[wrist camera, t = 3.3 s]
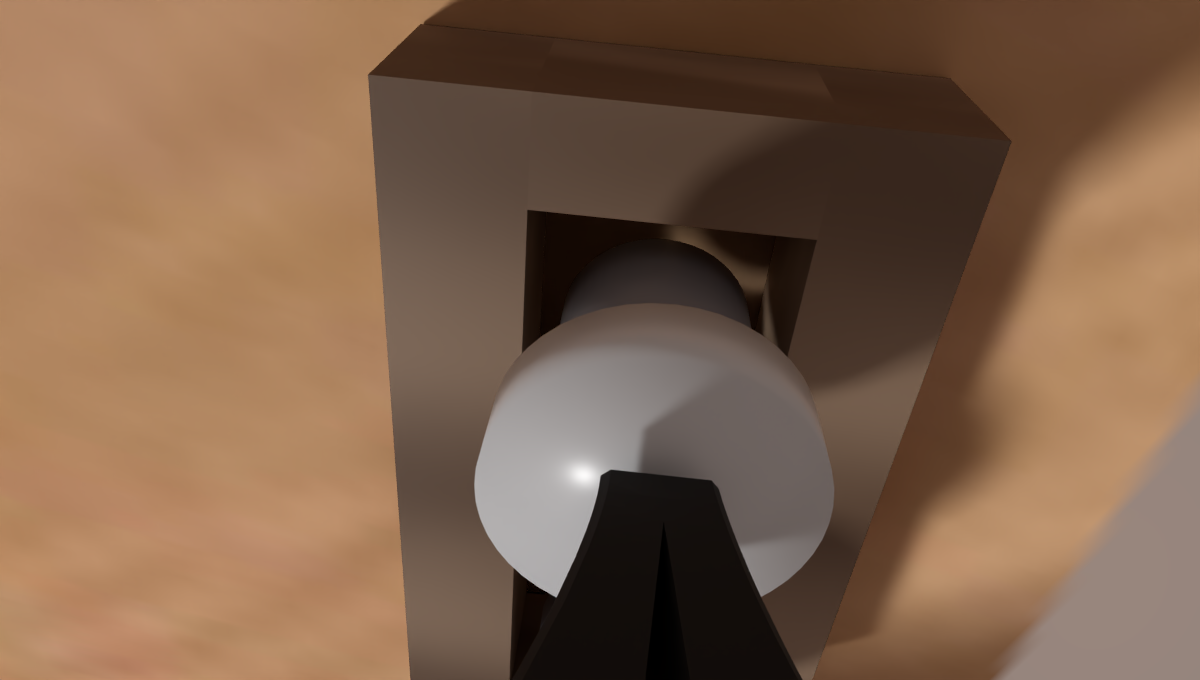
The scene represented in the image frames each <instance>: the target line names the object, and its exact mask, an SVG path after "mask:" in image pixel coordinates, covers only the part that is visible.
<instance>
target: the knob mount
mask: <svg viewBox="0 0 1200 680" xmlns="http://www.w3.org/2000/svg"><path fill="white" fill-rule="evenodd" d="M368 78H369V93H370V107H371V121H372V136H373V150H374V164H375V178H376V193H377V207H378V221H379V235H380V250H381V264H382V278H383V293H384V307H385V321H386V335H387V350H388V364H389V378H390V393H391V407H392V421H393V435H394V450H395V464H396V478H397V492H398V507H399V521H400V535H401V550H402V564H403V578H404V592H405V607H406V621H407V635H408V649H409V664H410V678H411V680H512V679H513V677H514V675H515V673H516V672H517V670H518V668H519V666H520V665H521V663H522V661H523V659H524V657H525V656H526V654H527V652H528V650H529V648H530V647H531V645H532V643H533V641H534V639H535V638H536V636H537V634H538V632H539V630H540V624H541V618H542V611H543V606H544V604H545V601H546V599H547V598H548V596H549V595H543V594H533V593H527V579H526V578H525V577H523V576H522V575H521V574H520V573H519V572H518V571H517V570H515V569H514V568H513V567H512V566H511V565H510V564H509V563H508V562H507V561H506V560H505V558H504V557H503V556H502V555H501V554H500V553H499V551H498V550H497V549H496V547H495V546H494V544H493V543H492V541H491V540H490V538H489V537H488V535H487V533H486V531H485V529H484V526H483V524H482V522H481V520H480V516H479V513H478V509H477V505H476V500H475V489H474V482H475V470H476V465H477V461H478V458H479V454H480V451H481V447H482V443H483V440H484V436H485V433H486V429H487V426H488V422H489V418H490V415H491V411H492V408H493V404H494V400H495V397H496V393H497V391H498V389H499V387H500V385H501V382H502V380H503V378H504V376H505V375H506V373H507V372H508V370H509V369H510V368H511V366H512V365H513V363H514V362H515V361H516V360H517V358H518V357H519V356H520V355H521V354H522V353H523V352H524V351H525V350H526V349H527V348H528V347H529V346H530V345H532V344H533V343H534V342H535V341H536V340H538V339H539V338H540V325H541V306H542V287H543V268H544V248H545V229H546V212H554V213H564V214H573V215H583V216H592V217H602V218H612V219H621V220H631V221H640V222H650V223H659V224H669V225H678V226H688V227H697V228H707V229H717V230H726V231H736V232H745V233H755V234H764V235H774V236H776V239H775V244H774V248H773V253H772V257H771V262H770V266H769V271H768V275H767V280H766V284H765V289H764V293H763V298H762V302H761V307H760V311H759V316H758V320H757V325H756V329H755V331H756V332H758V333H759V334H761V335H762V336H764V337H765V338H766V339H768V340H769V341H770V342H772V343H773V344H774V345H776V346H777V347H778V348H779V349H780V350H781V351H782V352H783V353H784V354H785V355H786V356H787V357H788V358H789V359H790V360H791V361H792V362H793V364H794V365H795V366H796V368H797V369H798V370H799V372H800V373H801V375H802V376H803V377H804V379H805V381H806V383H807V385H808V387H809V389H810V391H811V393H812V396H813V399H814V402H815V405H816V408H817V412H818V416H819V420H820V424H821V428H822V432H823V436H824V440H825V445H826V449H827V453H828V457H829V461H830V465H831V469H832V475H833V483H834V504H833V510H832V514H831V518H830V523H829V525H828V528H827V530H826V532H825V535H824V537H823V539H822V541H821V542H820V544H819V546H818V547H817V549H816V550H815V552H814V554H813V555H812V556H811V557H810V558H809V560H808V561H807V562H806V563H805V564H804V565H803V566H802V568H801V569H800V570H798V571H797V572H796V573H795V574H794V575H793V576H792V577H791V578H789V579H788V580H787V581H786V582H784V583H783V584H781V585H780V586H778V587H777V588H775V589H774V590H773V591H771V592H769V593H767V594H765V595H764V596H762V597H761V598H762V600H763V602H764V604H765V606H766V608H767V610H768V612H769V614H770V616H771V618H772V620H773V623H774V625H775V627H776V629H777V631H778V633H779V635H780V637H781V639H782V641H783V643H784V645H785V647H786V649H787V651H788V653H789V655H790V657H791V659H792V660H793V662H794V664H795V666H796V668H797V670H798V672H799V674H800V676H801V677H802V679H803V680H812V679H813V676H814V674H815V671H816V668H817V666H818V663H819V660H820V658H821V655H822V652H823V649H824V647H825V644H826V641H827V639H828V636H829V633H830V630H831V628H832V625H833V622H834V620H835V617H836V614H837V612H838V609H839V606H840V603H841V601H842V598H843V595H844V593H845V590H846V587H847V585H848V582H849V579H850V576H851V574H852V571H853V568H854V566H855V563H856V560H857V558H858V555H859V552H860V549H861V547H862V544H863V541H864V539H865V536H866V533H867V531H868V528H869V525H870V522H871V520H872V517H873V514H874V512H875V509H876V506H877V503H878V501H879V498H880V495H881V493H882V490H883V487H884V485H885V482H886V479H887V476H888V474H889V471H890V468H891V466H892V463H893V460H894V458H895V455H896V452H897V449H898V447H899V444H900V441H901V439H902V436H903V433H904V431H905V428H906V425H907V422H908V420H909V417H910V414H911V412H912V409H913V406H914V404H915V401H916V398H917V395H918V393H919V390H920V387H921V385H922V382H923V379H924V376H925V374H926V371H927V368H928V366H929V363H930V360H931V358H932V355H933V352H934V349H935V347H936V344H937V341H938V339H939V336H940V333H941V331H942V328H943V325H944V322H945V320H946V317H947V314H948V312H949V309H950V306H951V304H952V301H953V298H954V295H955V293H956V290H957V287H958V285H959V282H960V279H961V276H962V274H963V271H964V268H965V266H966V263H967V260H968V258H969V255H970V252H971V249H972V247H973V244H974V241H975V239H976V236H977V233H978V231H979V228H980V225H981V222H982V220H983V217H984V214H985V212H986V209H987V206H988V204H989V201H990V198H991V195H992V193H993V190H994V187H995V185H996V182H997V179H998V177H999V174H1000V171H1001V168H1002V166H1003V163H1004V160H1005V158H1006V155H1007V152H1008V149H1009V147H1010V144H1011V140H1010V139H1009V138H1008V137H1007V136H1006V135H1005V134H1004V133H1003V132H1002V131H1001V130H1000V129H999V128H998V127H997V126H996V125H995V124H994V123H993V122H992V121H991V120H990V119H989V118H988V117H987V116H986V115H985V114H984V113H983V112H982V111H981V110H980V109H979V107H978V106H977V105H976V104H975V103H974V102H973V101H972V100H971V99H970V98H969V97H968V96H967V95H966V94H965V93H964V92H963V91H962V90H961V89H960V88H959V87H958V86H957V85H956V84H955V83H954V82H953V81H952V80H951V79H948V78H939V77H929V76H919V75H910V74H900V73H890V72H880V71H871V70H861V69H851V68H842V67H832V66H822V65H812V64H803V63H793V62H783V61H773V60H764V59H754V58H744V57H735V56H725V55H715V54H705V53H696V52H686V51H676V50H667V49H657V48H647V47H637V46H628V45H618V44H608V43H599V42H589V41H579V40H569V39H560V38H550V37H540V36H530V35H521V34H511V33H501V32H492V31H482V30H472V29H462V28H453V27H443V26H433V25H424V24H420V25H419V26H418V27H417V28H416V29H415V30H414V31H413V32H412V33H411V34H410V35H409V36H408V37H407V38H406V39H405V40H404V41H403V42H402V43H401V44H400V45H399V46H397V47H396V48H395V49H394V50H393V51H392V52H391V53H390V54H389V55H388V56H387V57H386V58H385V59H384V60H383V61H382V62H381V63H380V64H379V65H378V66H377V67H376V68H375V69H374V70H373V71H372V72H370V73H369V74H368Z"/></svg>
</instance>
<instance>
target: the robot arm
mask: <svg viewBox="0 0 1200 680" xmlns="http://www.w3.org/2000/svg"><path fill="white" fill-rule="evenodd" d="M512 680H803V679H802V677H801V676H800V674H799V672H798V670H797V668H796V666H795V664H794V662H793V660H792V659H791V657H790V655H789V653H788V651H787V649H786V647H785V645H784V643H783V641H782V639H781V637H780V635H779V633H778V631H777V629H776V627H775V625H774V623H773V620H772V618H771V616H770V614H769V612H768V610H767V608H766V606H765V604H764V602H763V600H762V598H761V596H760V593H759V591H758V589H757V587H756V585H755V582H754V580H753V578H752V576H751V573H750V571H749V569H748V566H747V564H746V562H745V559H744V557H743V554H742V552H741V550H740V547H739V545H738V542H737V540H736V537H735V535H734V532H733V529H732V527H731V524H730V521H729V518H728V516H727V513H726V510H725V507H724V504H723V501H722V498H721V494H720V491H719V488H718V487H717V486H716V485H715V484H714V483H713V481H712V480H704V479H695V478H685V477H676V476H667V475H658V474H648V473H639V472H630V471H620V470H609V471H608V472H606V473H604V474H602V475H601V476H600V483H599V489H598V494H597V498H596V501H595V505H594V509H593V512H592V515H591V518H590V521H589V524H588V526H587V529H586V532H585V534H584V537H583V539H582V542H581V544H580V547H579V549H578V552H577V554H576V557H575V559H574V561H573V563H572V565H571V568H570V570H569V572H568V574H567V576H566V578H565V580H564V583H563V585H562V587H561V589H560V591H559V593H558V595H557V597H556V600H555V602H554V604H553V606H552V608H551V610H550V612H549V614H548V616H547V618H546V619H545V621H544V623H543V625H542V627H541V629H540V630H539V632H538V634H537V636H536V638H535V639H534V641H533V643H532V645H531V647H530V648H529V650H528V652H527V654H526V656H525V657H524V659H523V661H522V663H521V665H520V666H519V668H518V670H517V672H516V673H515V675H514V677H513V679H512Z"/></svg>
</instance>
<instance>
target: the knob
mask: <svg viewBox="0 0 1200 680" xmlns="http://www.w3.org/2000/svg"><path fill="white" fill-rule="evenodd" d="M609 470H620V471H630V472H639V473H648V474H658V475H667V476H676V477H685V478H695V479H704V480H712V481H713V483H714V484H715V485H716V486H717V487H718V488H719V491H720V494H721V498H722V501H723V504H724V507H725V510H726V513H727V516H728V518H729V521H730V524H731V527H732V529H733V532H734V535H735V537H736V540H737V542H738V545H739V547H740V550H741V552H742V554H743V557H744V559H745V562H746V564H747V566H748V569H749V571H750V573H751V576H752V578H753V580H754V582H755V585H756V587H757V589H758V591H759V593H760V596H761V597H762V596H764V595H765V594H767V593H769V592H771V591H773V590H774V589H775V588H777V587H778V586H780V585H781V584H783V583H784V582H786V581H787V580H788V579H789V578H791V577H792V576H793V575H794V574H795V573H796V572H797V571H798V570H800V569H801V568H802V566H803V565H804V564H805V563H806V562H807V561H808V560H809V558H810V557H811V556H812V555H813V554H814V552H815V550H816V549H817V547H818V546H819V544H820V542H821V541H822V539H823V537H824V535H825V532H826V530H827V528H828V525H829V523H830V518H831V514H832V510H833V504H834V483H833V475H832V469H831V465H830V461H829V457H828V453H827V449H826V445H825V440H824V436H823V432H822V428H821V424H820V420H819V416H818V412H817V408H816V405H815V402H814V399H813V396H812V393H811V391H810V389H809V387H808V385H807V383H806V381H805V379H804V377H803V376H802V375H801V373H800V372H799V370H798V369H797V368H796V366H795V365H794V364H793V362H792V361H791V360H790V359H789V358H788V357H787V356H786V355H785V354H784V353H783V352H782V351H781V350H780V349H779V348H778V347H777V346H776V345H774V344H773V343H772V342H770V341H769V340H768V339H766V338H765V337H764V336H762V335H761V334H759V333H758V332H756V331H754V330H752V329H751V324H750V318H749V311H748V306H747V301H746V298H745V295H744V292H743V290H742V288H741V286H740V284H739V282H738V280H737V279H736V278H735V276H734V275H733V274H732V272H731V271H730V270H729V269H728V268H727V267H726V266H725V265H724V264H723V263H722V262H720V261H719V260H718V259H717V258H715V257H714V256H712V255H711V254H709V253H707V252H706V251H704V250H702V249H699V248H697V247H695V246H692V245H689V244H686V243H682V242H679V241H673V240H666V239H646V240H638V241H633V242H628V243H625V244H622V245H619V246H616V247H614V248H612V249H609V250H607V251H605V252H604V253H602V254H600V255H599V256H597V257H596V258H594V259H593V260H592V261H591V262H589V263H588V264H587V265H586V266H585V267H584V268H583V269H582V270H581V271H580V273H579V274H578V275H577V277H576V278H575V279H574V281H573V282H572V284H571V286H570V288H569V291H568V293H567V296H566V299H565V302H564V307H563V312H562V318H561V323H560V325H559V326H557V327H556V328H554V329H552V330H551V331H549V332H548V333H546V334H544V335H543V336H541V337H540V338H539V339H538V340H536V341H535V342H534V343H533V344H532V345H530V346H529V347H528V348H527V349H526V350H525V351H524V352H523V353H522V354H521V355H520V356H519V357H518V358H517V360H516V361H515V362H514V363H513V365H512V366H511V368H510V369H509V370H508V372H507V373H506V375H505V376H504V378H503V380H502V382H501V385H500V387H499V389H498V391H497V393H496V397H495V400H494V404H493V408H492V411H491V415H490V418H489V422H488V426H487V429H486V433H485V436H484V440H483V443H482V447H481V451H480V454H479V458H478V461H477V465H476V470H475V482H474V489H475V500H476V505H477V509H478V513H479V516H480V520H481V522H482V524H483V526H484V529H485V531H486V533H487V535H488V537H489V538H490V540H491V541H492V543H493V544H494V546H495V547H496V549H497V550H498V551H499V553H500V554H501V555H502V556H503V557H504V558H505V560H506V561H507V562H508V563H509V564H510V565H511V566H512V567H513V568H514V569H515V570H517V571H518V572H519V573H520V574H521V575H522V576H523V577H525V578H526V579H528V580H529V581H530V582H532V583H533V584H535V585H536V586H537V587H539V588H541V589H542V590H544V591H546V592H548V593H549V594H551V595H553V596H555V597H557V595H558V593H559V591H560V589H561V587H562V585H563V583H564V580H565V578H566V576H567V574H568V572H569V570H570V568H571V565H572V563H573V561H574V559H575V557H576V554H577V552H578V549H579V547H580V544H581V542H582V539H583V537H584V534H585V532H586V529H587V526H588V524H589V521H590V518H591V515H592V512H593V509H594V505H595V501H596V498H597V494H598V489H599V483H600V476H601V475H602V474H604V473H606V472H608V471H609Z"/></svg>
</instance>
